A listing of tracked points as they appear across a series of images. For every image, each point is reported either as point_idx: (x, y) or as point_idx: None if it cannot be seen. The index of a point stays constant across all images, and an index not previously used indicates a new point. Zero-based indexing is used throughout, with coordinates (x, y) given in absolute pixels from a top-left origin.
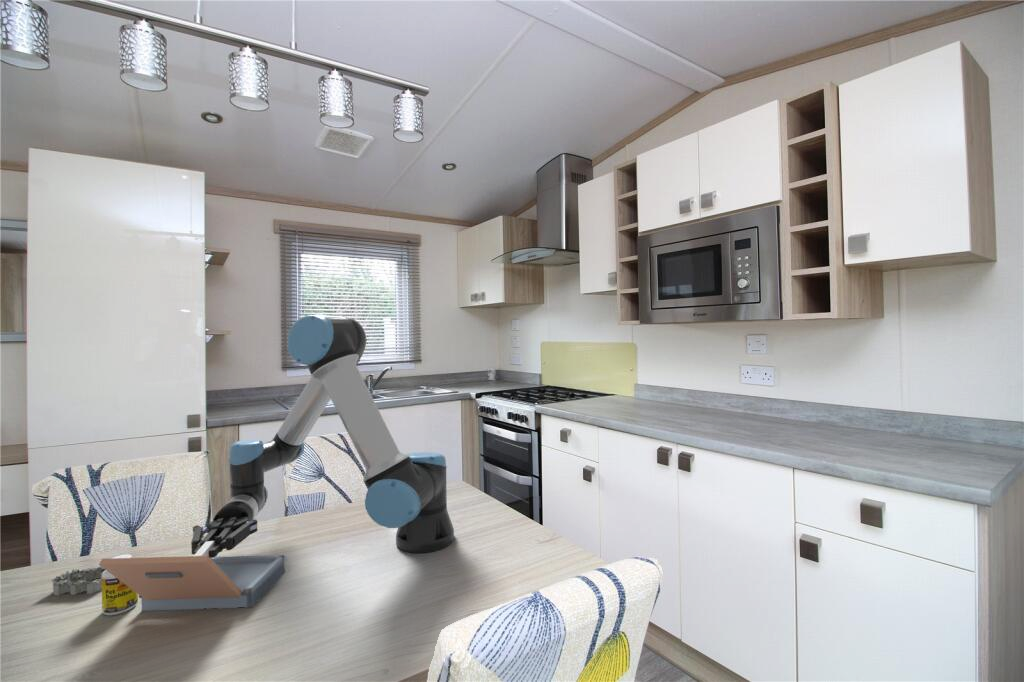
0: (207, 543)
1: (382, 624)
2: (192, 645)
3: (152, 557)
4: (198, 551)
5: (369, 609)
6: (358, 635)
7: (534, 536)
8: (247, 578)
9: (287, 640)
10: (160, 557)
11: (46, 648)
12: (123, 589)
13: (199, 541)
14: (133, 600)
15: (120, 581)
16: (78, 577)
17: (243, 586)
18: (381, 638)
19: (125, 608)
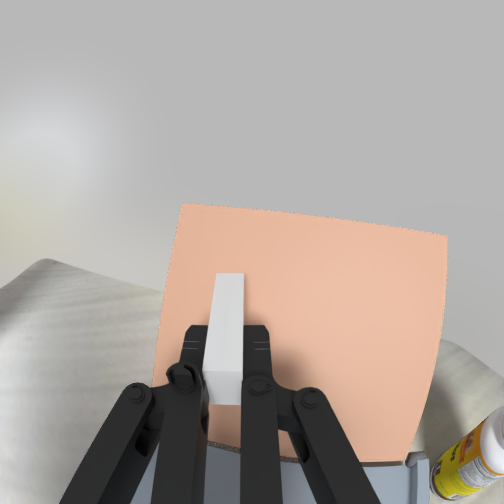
0: (226, 351)
1: (19, 307)
2: None
3: (326, 217)
4: (238, 295)
5: (10, 335)
6: (43, 301)
7: None
8: (148, 499)
9: (101, 321)
10: (304, 215)
11: (460, 376)
12: (463, 440)
13: (309, 458)
14: (437, 474)
15: (479, 426)
16: None
17: (152, 458)
18: (33, 291)
19: (436, 462)
